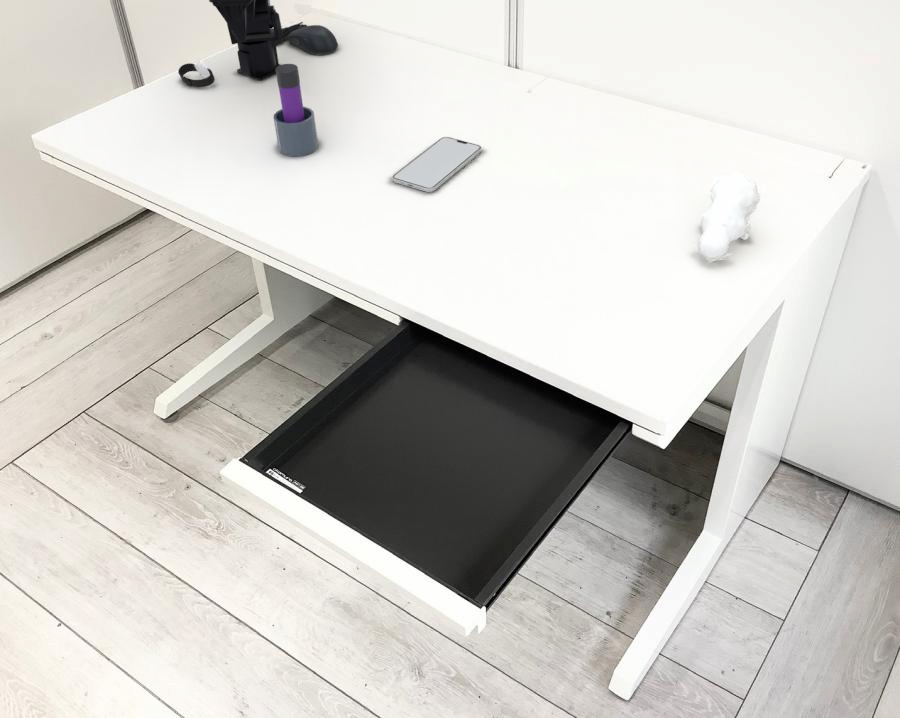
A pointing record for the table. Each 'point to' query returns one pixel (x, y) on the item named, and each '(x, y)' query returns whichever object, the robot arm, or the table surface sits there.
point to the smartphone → (437, 164)
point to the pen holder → (296, 134)
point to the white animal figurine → (727, 215)
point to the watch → (199, 68)
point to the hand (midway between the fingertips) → (246, 32)
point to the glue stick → (290, 93)
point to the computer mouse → (310, 38)
